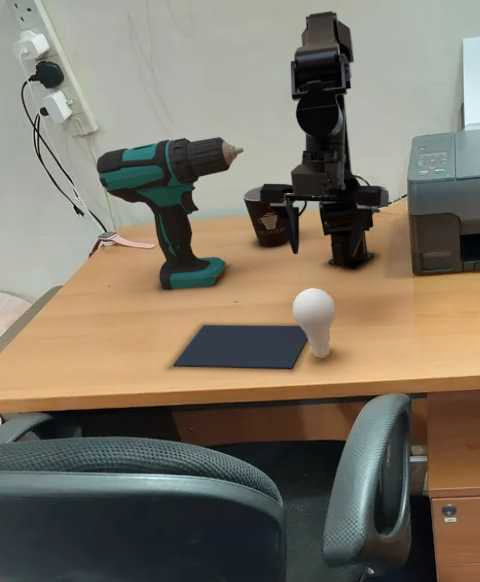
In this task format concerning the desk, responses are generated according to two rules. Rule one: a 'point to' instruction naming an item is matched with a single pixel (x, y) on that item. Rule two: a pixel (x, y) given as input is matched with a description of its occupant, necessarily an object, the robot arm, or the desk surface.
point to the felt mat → (244, 347)
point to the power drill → (170, 198)
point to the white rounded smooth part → (315, 318)
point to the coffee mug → (265, 220)
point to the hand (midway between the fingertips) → (323, 255)
